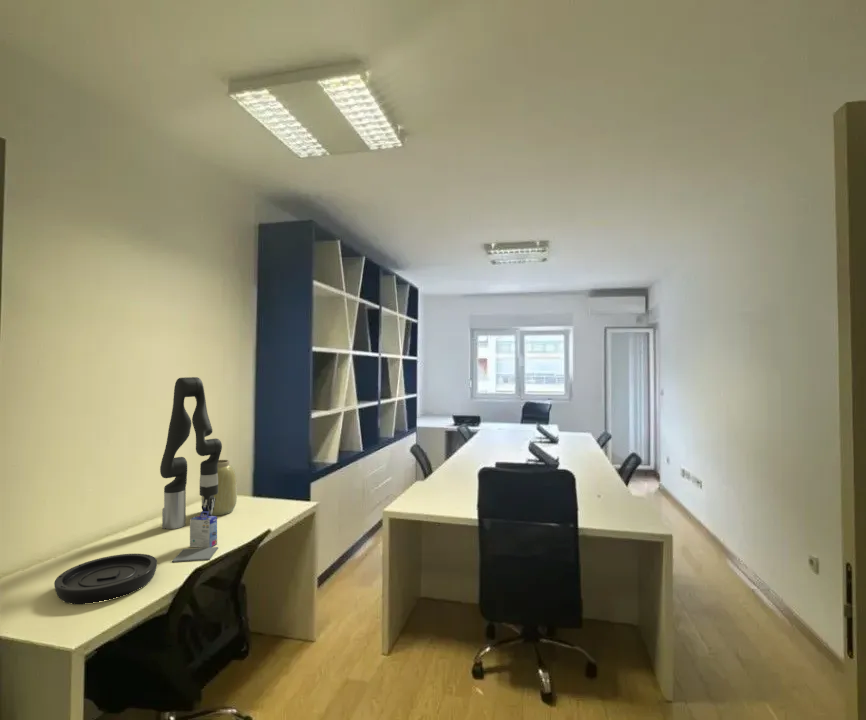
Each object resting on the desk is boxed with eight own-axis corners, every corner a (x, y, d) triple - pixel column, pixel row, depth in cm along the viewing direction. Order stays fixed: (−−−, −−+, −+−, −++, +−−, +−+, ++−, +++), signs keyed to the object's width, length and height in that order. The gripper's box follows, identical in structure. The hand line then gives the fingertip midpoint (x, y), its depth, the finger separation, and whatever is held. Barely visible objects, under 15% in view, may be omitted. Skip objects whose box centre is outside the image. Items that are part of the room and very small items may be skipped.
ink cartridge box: (218, 543, 205) (217, 510, 205) (210, 548, 200) (209, 515, 200) (197, 542, 207) (197, 509, 207) (189, 547, 202) (188, 513, 201)
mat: (172, 562, 186) (172, 560, 186) (183, 550, 198) (183, 549, 198) (209, 559, 188) (209, 558, 188) (218, 548, 200) (218, 546, 200)
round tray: (162, 562, 187) (70, 576, 175) (162, 547, 187) (70, 560, 175) (150, 596, 159) (39, 615, 147) (150, 579, 159) (40, 596, 147)
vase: (219, 505, 261) (219, 457, 262) (243, 508, 255) (243, 459, 256) (193, 515, 245) (194, 463, 245) (219, 518, 239) (219, 465, 240)
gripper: (204, 480, 216) (204, 518, 216) (195, 488, 203) (194, 528, 203) (221, 479, 217) (221, 517, 217) (213, 487, 204) (213, 527, 204)
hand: (208, 522), depth 210 cm, fingers closed
